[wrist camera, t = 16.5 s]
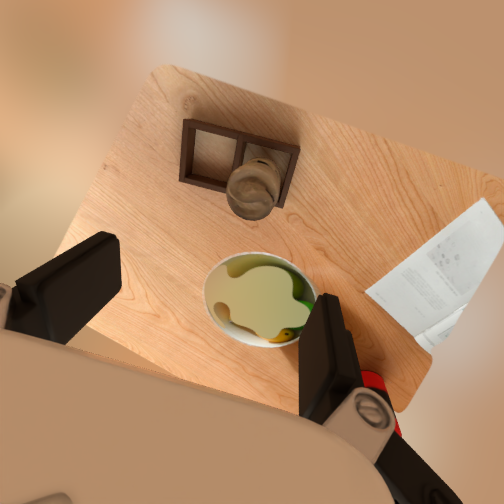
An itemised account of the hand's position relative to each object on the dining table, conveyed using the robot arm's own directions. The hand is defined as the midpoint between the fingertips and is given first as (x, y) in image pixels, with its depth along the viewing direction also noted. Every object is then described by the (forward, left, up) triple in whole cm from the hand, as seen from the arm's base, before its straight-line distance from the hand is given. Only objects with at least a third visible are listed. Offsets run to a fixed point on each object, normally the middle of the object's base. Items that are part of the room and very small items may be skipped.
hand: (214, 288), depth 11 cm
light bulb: (0, 0, -29) cm, 29 cm away
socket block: (+3, -3, -29) cm, 29 cm away
